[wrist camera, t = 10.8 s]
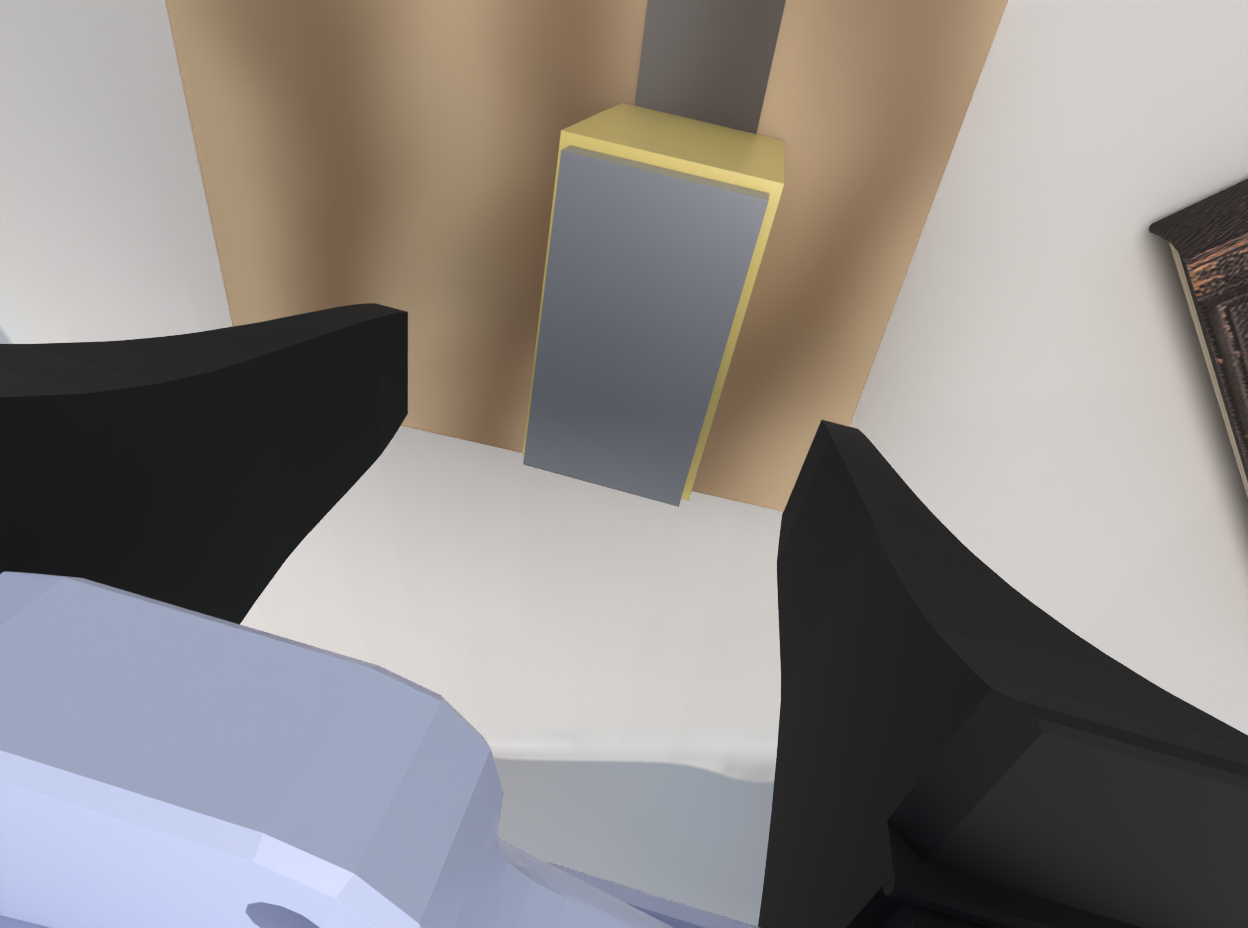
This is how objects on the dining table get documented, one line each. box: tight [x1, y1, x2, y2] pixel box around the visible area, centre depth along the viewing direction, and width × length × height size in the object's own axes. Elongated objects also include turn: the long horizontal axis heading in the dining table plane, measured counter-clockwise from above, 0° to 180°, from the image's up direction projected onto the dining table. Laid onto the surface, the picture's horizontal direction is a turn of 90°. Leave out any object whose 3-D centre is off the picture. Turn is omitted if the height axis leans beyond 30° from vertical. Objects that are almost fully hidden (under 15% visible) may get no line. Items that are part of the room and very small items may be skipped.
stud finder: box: [523, 103, 785, 507], centre depth 16 cm, size 4×7×6 cm, turn 169°
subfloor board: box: [165, 0, 1008, 512], centre depth 19 cm, size 20×14×1 cm
